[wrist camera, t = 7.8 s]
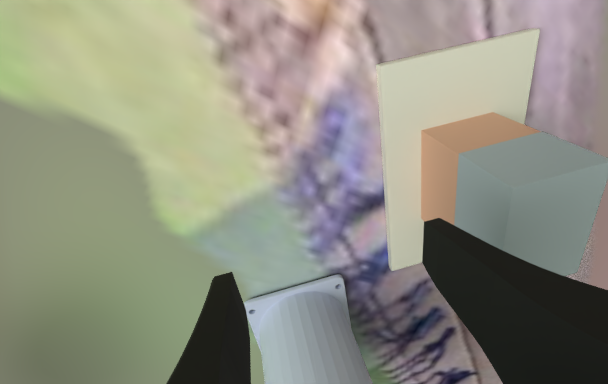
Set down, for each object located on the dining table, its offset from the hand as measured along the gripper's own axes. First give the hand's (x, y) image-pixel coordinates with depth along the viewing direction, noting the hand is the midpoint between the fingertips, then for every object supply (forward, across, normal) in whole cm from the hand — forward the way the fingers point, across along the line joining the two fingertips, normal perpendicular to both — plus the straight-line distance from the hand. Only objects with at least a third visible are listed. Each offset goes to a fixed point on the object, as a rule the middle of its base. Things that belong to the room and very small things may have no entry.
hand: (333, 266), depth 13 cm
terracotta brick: (+10, -11, +4) cm, 15 cm away
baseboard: (+10, -11, +4) cm, 16 cm away
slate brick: (+6, -11, +4) cm, 13 cm away
